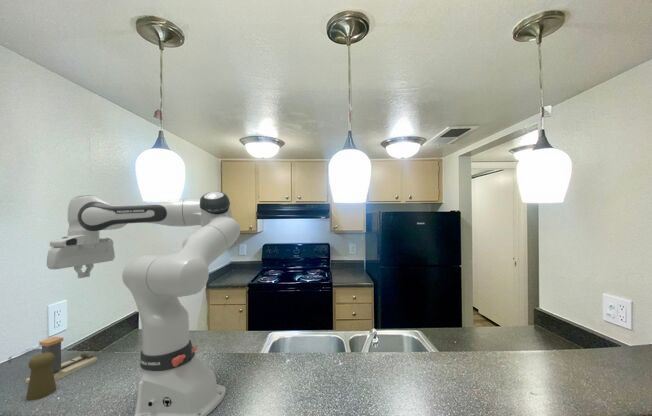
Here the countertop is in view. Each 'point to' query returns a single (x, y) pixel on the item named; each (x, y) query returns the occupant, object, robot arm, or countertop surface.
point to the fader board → (73, 365)
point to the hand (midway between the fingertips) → (84, 277)
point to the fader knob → (53, 350)
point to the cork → (41, 377)
